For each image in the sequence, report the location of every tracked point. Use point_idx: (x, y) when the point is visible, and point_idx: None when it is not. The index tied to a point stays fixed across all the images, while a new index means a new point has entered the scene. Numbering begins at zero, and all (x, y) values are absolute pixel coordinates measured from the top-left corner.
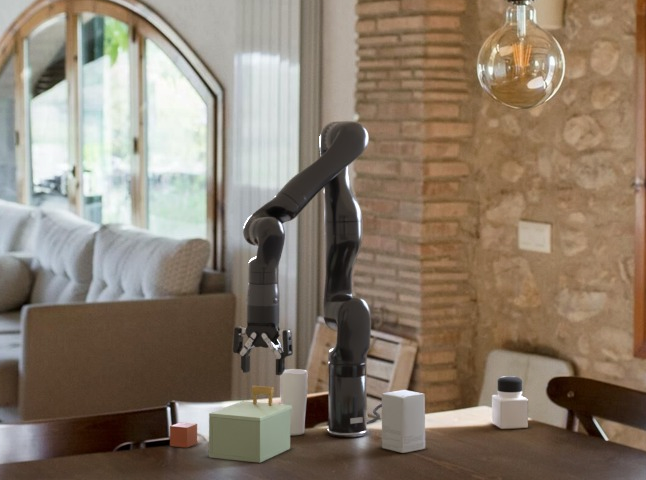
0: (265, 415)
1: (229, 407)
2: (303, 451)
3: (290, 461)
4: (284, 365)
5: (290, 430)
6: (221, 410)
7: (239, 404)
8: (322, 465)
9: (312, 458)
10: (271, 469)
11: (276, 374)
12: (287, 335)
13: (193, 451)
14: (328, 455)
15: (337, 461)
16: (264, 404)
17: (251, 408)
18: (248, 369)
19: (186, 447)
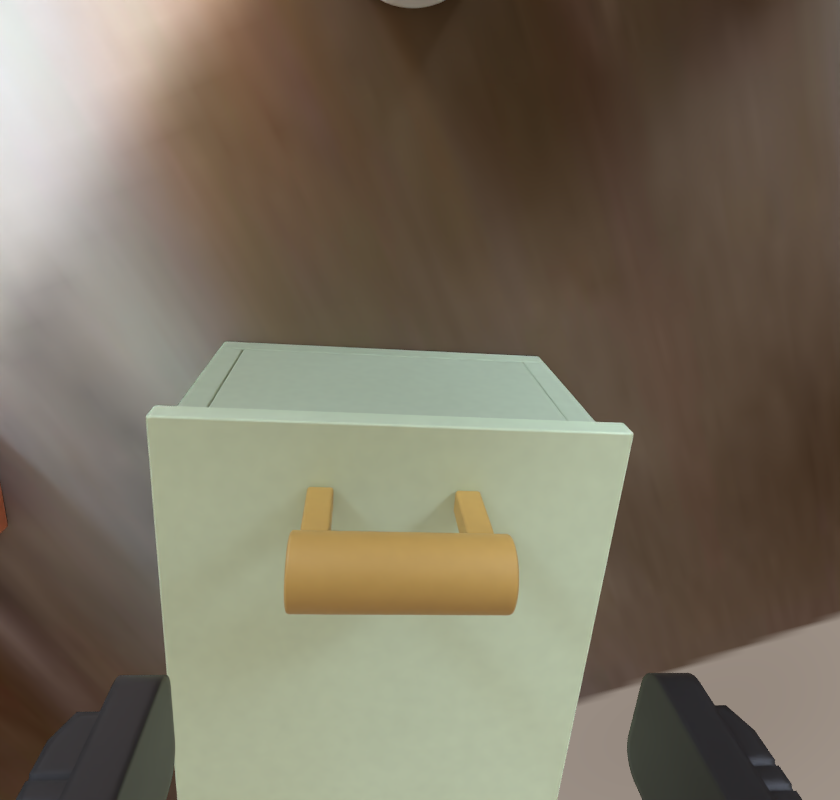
0: (559, 776)
1: (200, 669)
2: (622, 382)
3: (616, 573)
4: (792, 794)
5: (422, 4)
6: (208, 763)
7: (206, 552)
8: (768, 583)
9: (700, 493)
10: (580, 702)
11: (636, 760)
12: None
13: (91, 572)
14: (764, 415)
15: (822, 503)
16: (403, 483)
17: (374, 641)
18: (160, 726)
19: (5, 527)
